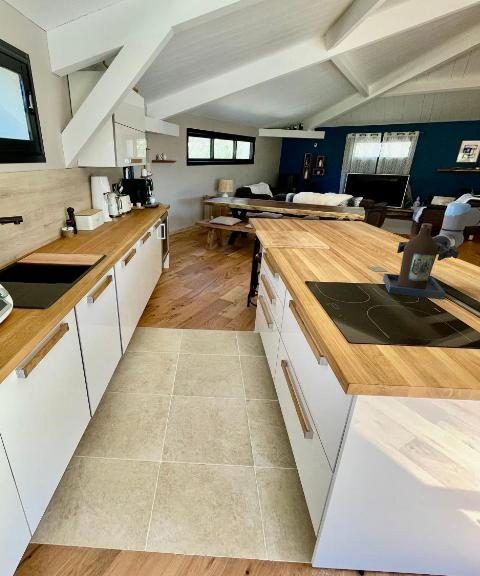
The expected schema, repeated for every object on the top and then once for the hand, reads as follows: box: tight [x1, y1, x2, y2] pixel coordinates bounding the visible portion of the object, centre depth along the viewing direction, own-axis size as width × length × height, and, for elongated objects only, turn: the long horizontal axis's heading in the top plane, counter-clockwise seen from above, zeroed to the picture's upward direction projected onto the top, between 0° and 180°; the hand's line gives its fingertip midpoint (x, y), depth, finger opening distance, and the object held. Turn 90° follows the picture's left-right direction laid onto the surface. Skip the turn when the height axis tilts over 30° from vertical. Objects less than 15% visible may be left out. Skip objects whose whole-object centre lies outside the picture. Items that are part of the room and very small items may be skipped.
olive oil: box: [398, 223, 438, 290], centre depth 121 cm, size 11×11×25 cm
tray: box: [382, 272, 446, 300], centre depth 125 cm, size 18×17×3 cm
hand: (418, 253), depth 119 cm, fingers open, 13 cm apart
